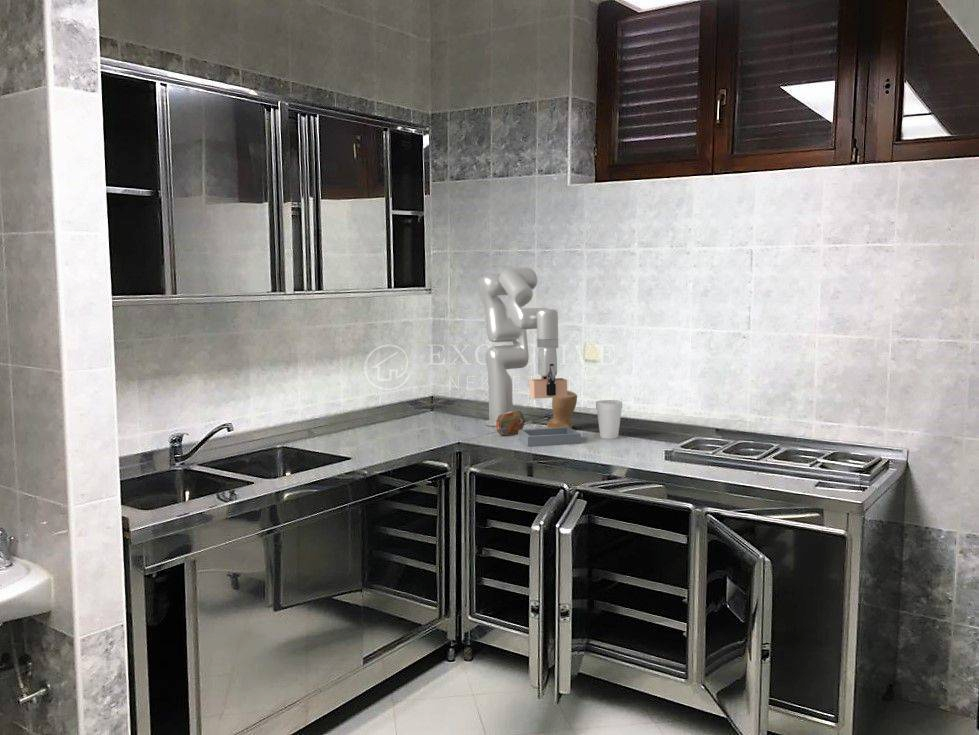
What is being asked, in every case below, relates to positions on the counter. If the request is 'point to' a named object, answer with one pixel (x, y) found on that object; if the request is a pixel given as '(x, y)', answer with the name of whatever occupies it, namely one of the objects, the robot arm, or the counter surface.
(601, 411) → the foam cup
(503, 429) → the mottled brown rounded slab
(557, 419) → the brown boot
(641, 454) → the counter surface
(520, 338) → the robot arm
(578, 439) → the grey tray
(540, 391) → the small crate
